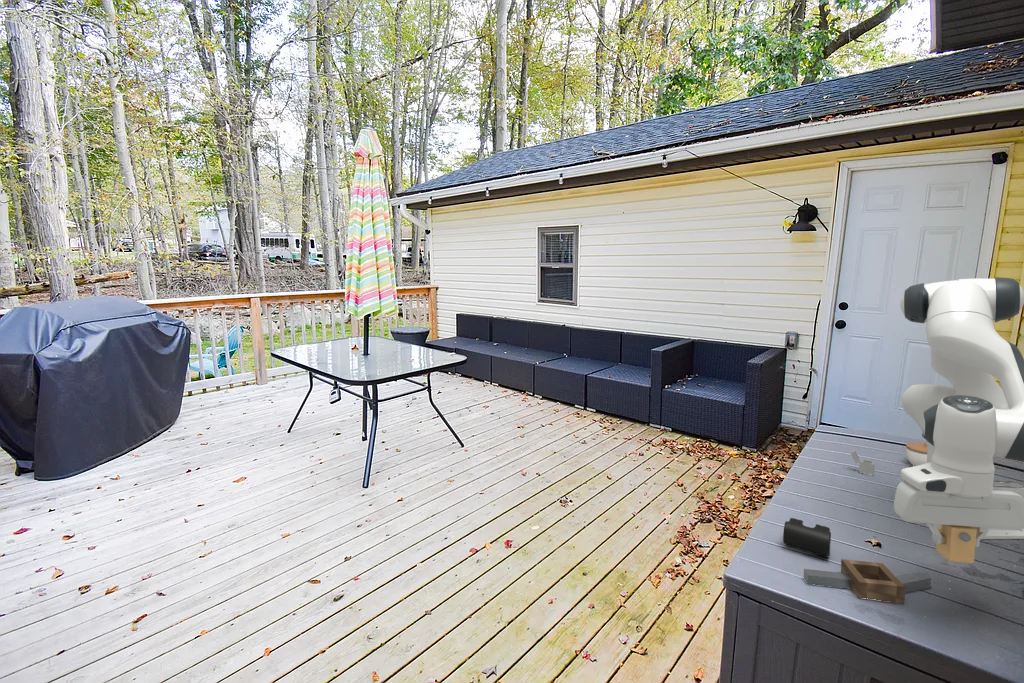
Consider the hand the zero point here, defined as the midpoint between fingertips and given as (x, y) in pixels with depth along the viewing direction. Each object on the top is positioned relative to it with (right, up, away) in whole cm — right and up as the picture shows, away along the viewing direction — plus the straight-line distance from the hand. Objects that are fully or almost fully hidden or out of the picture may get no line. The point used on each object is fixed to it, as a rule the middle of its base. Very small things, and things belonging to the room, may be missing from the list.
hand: (954, 544), depth 90 cm
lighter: (+37, -7, +72) cm, 81 cm away
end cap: (-12, -14, +28) cm, 33 cm away
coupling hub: (-7, -16, +12) cm, 21 cm away
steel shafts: (-7, -16, +14) cm, 22 cm away
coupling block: (0, -3, 0) cm, 3 cm away
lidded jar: (+63, -6, +74) cm, 98 cm away
